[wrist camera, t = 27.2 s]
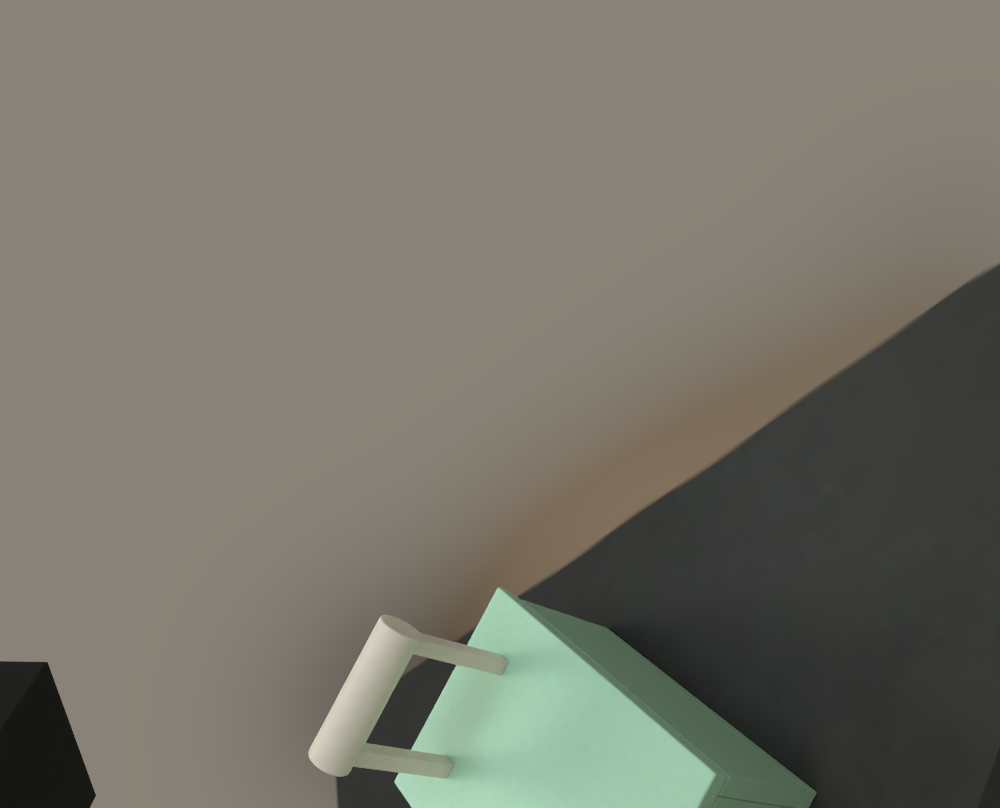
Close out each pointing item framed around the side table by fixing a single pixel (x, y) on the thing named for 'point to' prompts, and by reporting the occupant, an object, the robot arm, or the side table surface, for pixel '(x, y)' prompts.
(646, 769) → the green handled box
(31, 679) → the robot arm
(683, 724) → the green box base
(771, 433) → the side table surface
